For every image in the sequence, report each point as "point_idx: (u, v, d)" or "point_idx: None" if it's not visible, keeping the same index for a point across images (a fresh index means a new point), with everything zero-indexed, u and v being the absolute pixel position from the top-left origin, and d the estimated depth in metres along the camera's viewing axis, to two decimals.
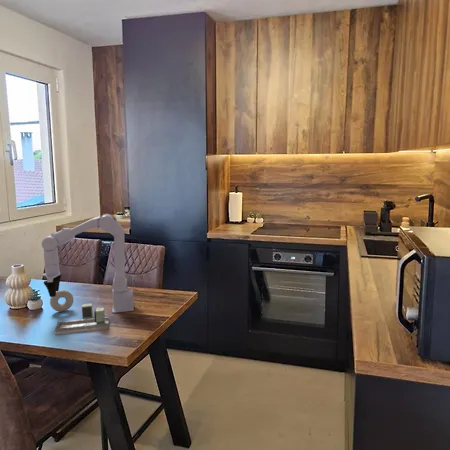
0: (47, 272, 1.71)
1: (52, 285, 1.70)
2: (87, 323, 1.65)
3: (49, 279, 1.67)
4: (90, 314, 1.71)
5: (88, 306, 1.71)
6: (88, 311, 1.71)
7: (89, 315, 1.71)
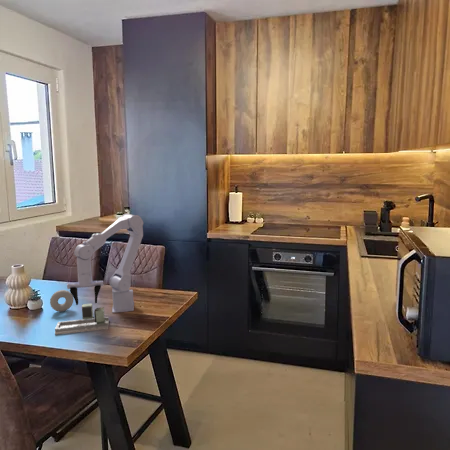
0: None
1: None
2: (87, 323, 1.65)
3: (67, 285, 1.69)
4: (90, 314, 1.71)
5: (88, 306, 1.71)
6: (88, 311, 1.71)
7: (89, 315, 1.71)
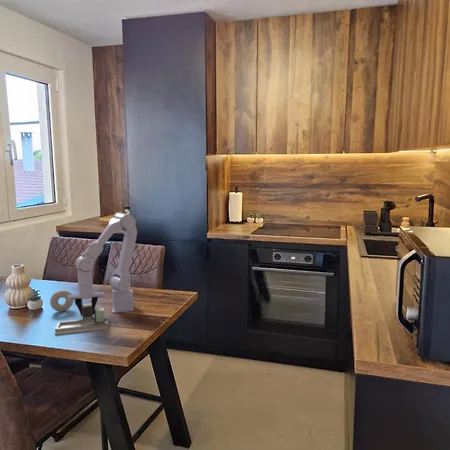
0: None
1: None
2: (87, 323, 1.65)
3: None
4: (90, 314, 1.71)
5: (88, 306, 1.71)
6: (88, 311, 1.71)
7: (89, 315, 1.71)
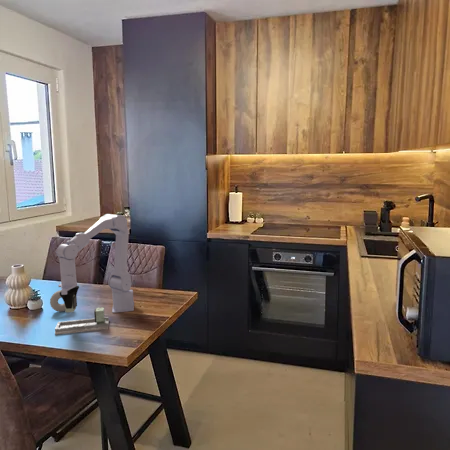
0: (63, 283, 1.58)
1: (68, 296, 1.59)
2: (87, 323, 1.65)
3: (63, 291, 1.54)
4: (76, 303, 1.64)
5: (74, 296, 1.62)
6: (75, 300, 1.63)
7: (76, 304, 1.63)
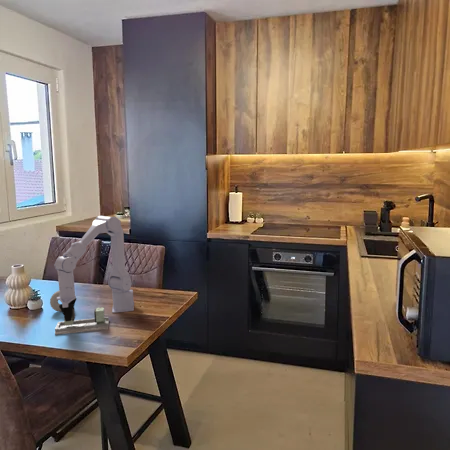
0: (62, 296, 1.57)
1: (68, 309, 1.58)
2: (87, 323, 1.65)
3: (64, 304, 1.53)
4: (74, 315, 1.63)
5: None
6: (74, 312, 1.62)
7: (74, 316, 1.63)
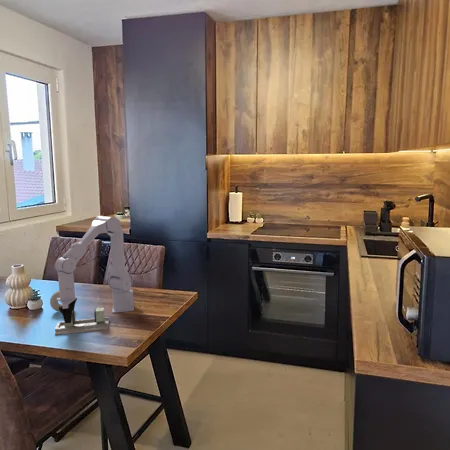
0: (62, 297, 1.57)
1: (67, 311, 1.57)
2: (87, 323, 1.65)
3: (64, 305, 1.53)
4: None
5: (73, 312, 1.62)
6: (74, 316, 1.63)
7: None
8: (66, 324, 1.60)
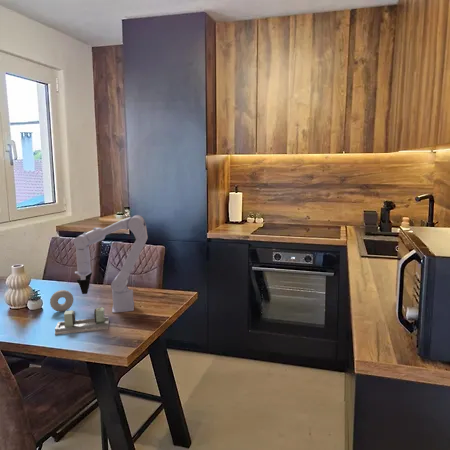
0: (79, 270, 1.76)
1: (84, 283, 1.75)
2: (87, 323, 1.65)
3: (82, 277, 1.72)
4: None
5: (73, 312, 1.62)
6: (74, 316, 1.63)
7: None
8: (66, 324, 1.60)
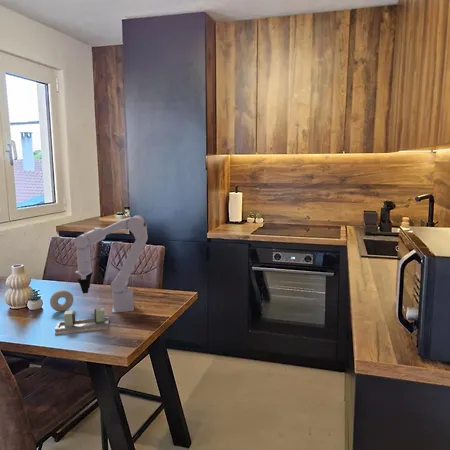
0: (80, 269, 1.77)
1: (85, 282, 1.76)
2: (87, 323, 1.65)
3: (83, 276, 1.73)
4: None
5: (73, 312, 1.62)
6: (74, 316, 1.63)
7: None
8: (66, 324, 1.60)
